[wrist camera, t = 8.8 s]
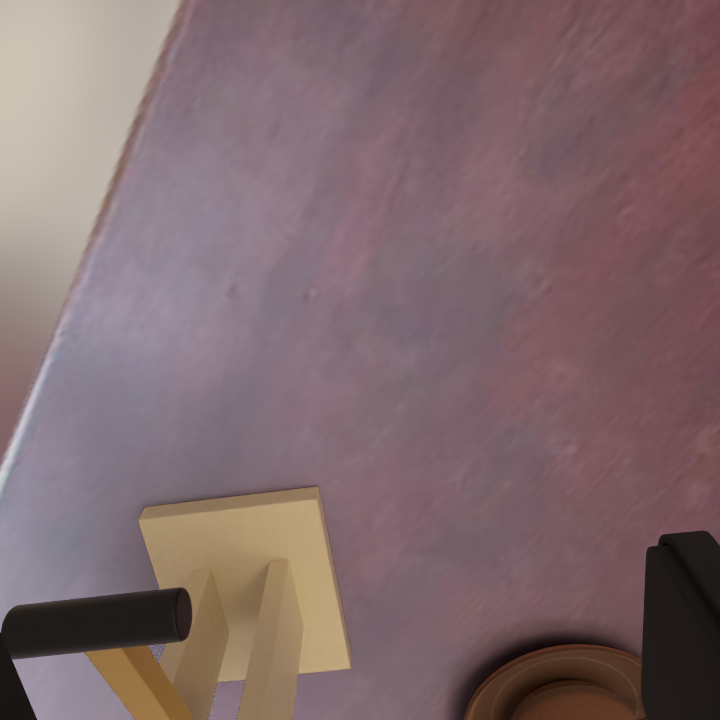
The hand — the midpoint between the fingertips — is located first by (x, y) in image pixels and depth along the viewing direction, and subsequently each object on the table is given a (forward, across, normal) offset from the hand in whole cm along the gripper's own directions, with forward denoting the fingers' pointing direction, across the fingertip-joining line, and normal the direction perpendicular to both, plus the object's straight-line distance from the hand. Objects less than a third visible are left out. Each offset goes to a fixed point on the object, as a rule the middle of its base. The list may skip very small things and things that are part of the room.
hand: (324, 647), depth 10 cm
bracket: (+21, +8, +16) cm, 28 cm away
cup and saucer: (+22, -9, +27) cm, 36 cm away
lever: (+10, +8, +11) cm, 17 cm away
